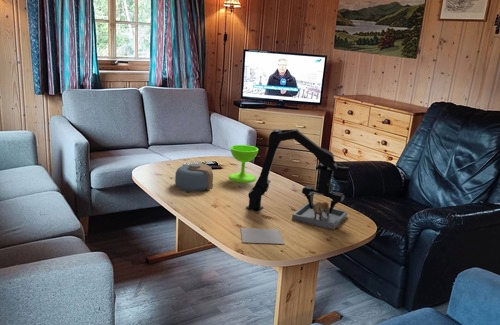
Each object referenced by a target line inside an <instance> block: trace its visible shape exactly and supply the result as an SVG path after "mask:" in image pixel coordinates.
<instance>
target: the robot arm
mask: <svg viewBox="0 0 500 325" xmlns="http://www.w3.org/2000/svg"><path fill="white" fill-rule="evenodd" d="M289 140H294V141H296V142H297V143H298V144H299V145H301V146H302V147H304V148H305V149H306V150H308V151H309V152H310V153H311V154H313V156H315V158H316V159H317V160H318V161H319V164H317V165H316V166H315V169H316V170H318V171H319V172H318V179H317V180H318V181H317V187H316V188H317V189H315V186H312V185H308V184H307V185H306V186H304V187H303V188H302V189H301V194H303V196H304V197H305V198H306V199H307V203H308V202H309V205H310V208H311V209H312V208H313V204H314V196H315V195H319V196H323V197H328V198H331V201H330V205H329V206H330V214H331V212H332V210H333V208H334V209H335V206H336V205H337V204H339V203H342V202H343V201H344V199H345V195H344V193H342V192H338V191H335V193H332V192H333V190H334V186H335V184H333V183H332V179H334V181H335V182H343V183H348V181H349V172H350V171H349V170H350V167H349V166H340V165H339V166H338V164H337V163H336V161H335V157H334V154H333V152H332V151H330V150H328V149H327V148H324V147H321V146H319V145H318V144H316V143H315V142H314V141H313V140H311V139H310V138H309V137H307V136H306V135H304V133H302V132H301V131H300V130H298V128H294V129H282V130H281V129H280V128H275V129H273V130H272V131H271V132H270V133H269V136H268V147H267V148H268V149H267V151H266V155H265V158H264V161H263V166H262V167H261V168H262V169H261V171H260V174H259V177H258V179H256V183H255V184H254V186H253V187H252V188H251V189H250V191H249V192H248V194H247V195H248V198H249V199H248V205H247V206H246V207H245V209H247V210H250V211H253V212H259V211H261V210H262V209H264V206H262V196H263V195H265V193H268V190H269V188H270V183H271V181H272V180H269V175H270V173H271V172H270V171H271V170H272V166H273V162H274V160H275V156H276V153H277V150H278V147H279V146H280V144H281V143H282V142H285V141H289Z"/></svg>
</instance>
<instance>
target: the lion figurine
mask: <svg viewBox="0 0 500 325" xmlns="http://www.w3.org/2000/svg"><path fill="white" fill-rule="evenodd" d="M314 204H315V205H314V215H315V217H313V218H314V219H316V214H319V215H320V216H319V220H322V219H321V217H322V212H323V211H324V209H326V211H328V213H327V215H329V206H330V204H329V203H328V202H327V201H322V202H320V201H317V202H316V203H314ZM326 211H325V212H326Z"/></svg>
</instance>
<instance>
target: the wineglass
mask: <svg viewBox="0 0 500 325" xmlns="http://www.w3.org/2000/svg"><path fill="white" fill-rule="evenodd" d="M258 153H259V148H258V147H256V146H252V145H246V144H236V145H232V146H230V154H231V155H232V157H233V158H234V159H235V160H236V161H238V162H240V163H241V166H240V167H241V169H240V172H234V173H231V174H230V175H229V176H228V180H230V181H232V182H236V183H243V184H245V183H247V184H248V183H252V182H253V183H254V182H255V181H257V178H256V177H255V175H253V174H250V173H245V170H246V169H245V168H246V163H248V162H249V163H250V162H252V161H253V160H254V159H256V157H257V155H258Z"/></svg>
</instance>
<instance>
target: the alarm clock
mask: <svg viewBox="0 0 500 325" xmlns="http://www.w3.org/2000/svg"><path fill="white" fill-rule="evenodd" d="M212 170H213V169H212V167H211V166H209V165H208V164H205V163H201V162H200V163H190V164H185V165H181V166H179V167H178V168H177V170H176V171H175V180H174V182H175V185H176V186H177V188H178V189H179V188H180V189H179V190H181V189H182V191H185V190H186V191H185V192H192V191H197V192H203V190H204V191H208V190H209V191H211V190H212V189H213V188H214V183H213V182H214V181H213V180H214V173H213V171H212ZM210 189H211V190H210Z"/></svg>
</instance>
